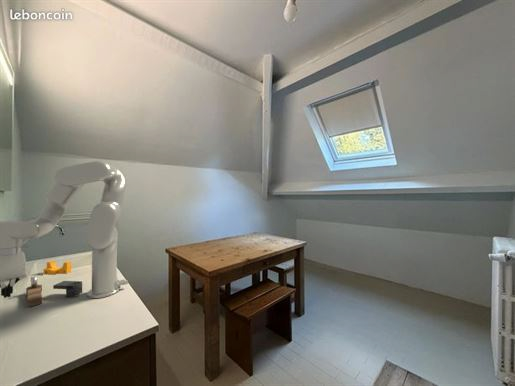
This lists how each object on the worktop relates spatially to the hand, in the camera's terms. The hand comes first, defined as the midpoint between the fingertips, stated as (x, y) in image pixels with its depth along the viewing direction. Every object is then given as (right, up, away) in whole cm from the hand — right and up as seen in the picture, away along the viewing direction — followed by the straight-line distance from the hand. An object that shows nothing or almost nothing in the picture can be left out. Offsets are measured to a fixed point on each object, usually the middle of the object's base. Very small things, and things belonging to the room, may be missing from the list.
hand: (6, 296), depth 88 cm
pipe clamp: (-12, -4, +35) cm, 37 cm away
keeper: (+16, -4, +10) cm, 19 cm away
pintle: (0, -1, +11) cm, 11 cm away
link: (+4, -4, +7) cm, 9 cm away
